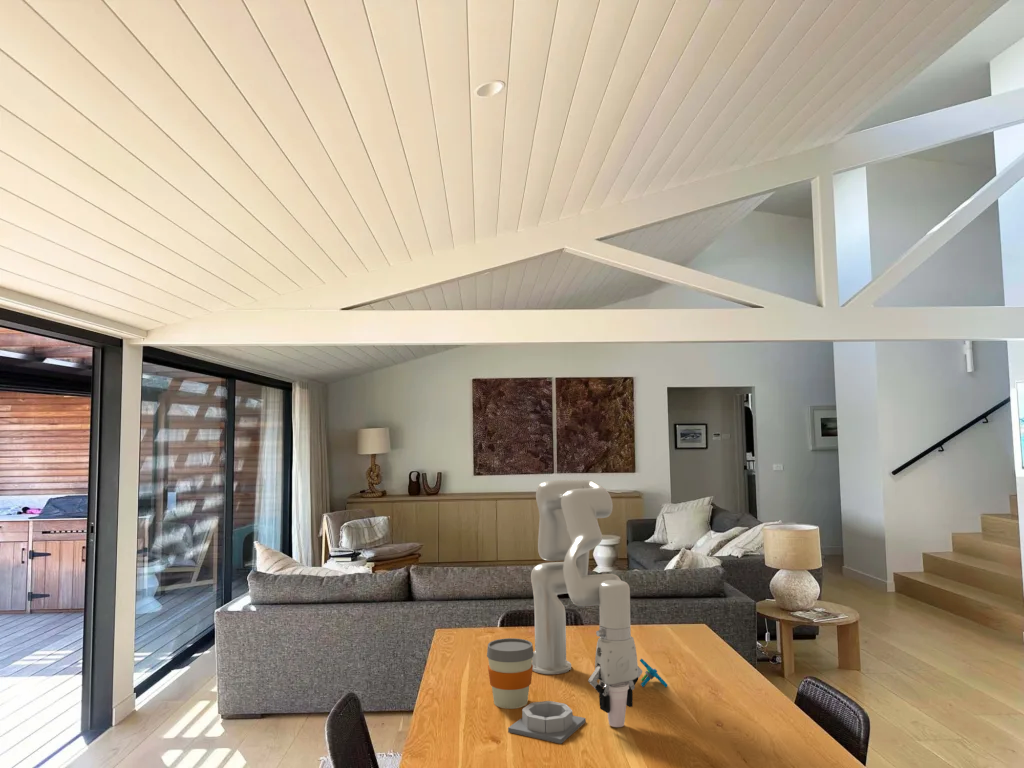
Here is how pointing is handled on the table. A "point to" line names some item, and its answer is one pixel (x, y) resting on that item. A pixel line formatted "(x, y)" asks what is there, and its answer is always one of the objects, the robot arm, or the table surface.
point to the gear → (651, 675)
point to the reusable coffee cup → (510, 671)
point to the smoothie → (617, 703)
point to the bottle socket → (547, 721)
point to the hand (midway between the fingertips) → (616, 707)
